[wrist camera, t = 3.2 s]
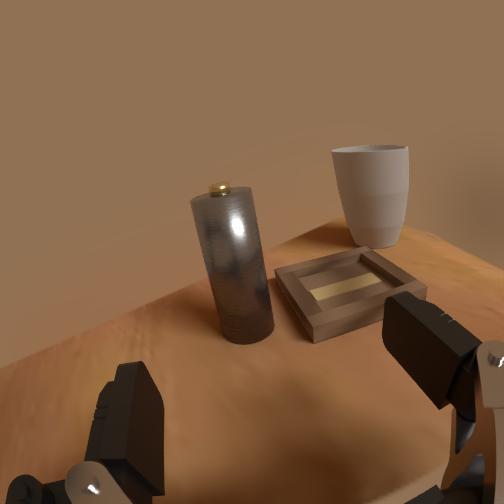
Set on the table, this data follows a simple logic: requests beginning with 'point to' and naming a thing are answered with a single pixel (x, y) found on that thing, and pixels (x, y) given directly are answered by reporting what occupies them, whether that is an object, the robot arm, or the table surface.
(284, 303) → the table surface
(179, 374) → the table surface
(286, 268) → the bay
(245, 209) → the cell
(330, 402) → the table surface
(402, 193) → the cup
